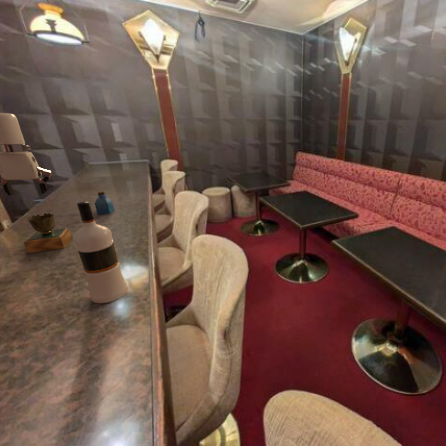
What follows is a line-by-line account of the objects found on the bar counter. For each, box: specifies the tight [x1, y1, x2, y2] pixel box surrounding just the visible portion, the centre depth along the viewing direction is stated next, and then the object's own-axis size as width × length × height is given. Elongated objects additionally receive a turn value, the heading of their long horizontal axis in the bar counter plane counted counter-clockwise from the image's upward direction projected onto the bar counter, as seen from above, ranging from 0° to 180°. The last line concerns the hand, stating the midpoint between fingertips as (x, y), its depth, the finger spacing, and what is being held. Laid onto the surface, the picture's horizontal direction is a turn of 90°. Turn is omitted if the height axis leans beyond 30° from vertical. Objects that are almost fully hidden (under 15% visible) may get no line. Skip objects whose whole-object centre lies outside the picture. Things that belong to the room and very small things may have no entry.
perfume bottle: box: [94, 191, 115, 215], centre depth 143 cm, size 6×6×12 cm
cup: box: [27, 212, 56, 235], centre depth 101 cm, size 8×7×8 cm
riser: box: [23, 227, 73, 254], centre depth 104 cm, size 11×11×5 cm
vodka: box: [72, 201, 129, 304], centre depth 71 cm, size 9×9×30 cm
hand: (28, 193), depth 97 cm, fingers open, 9 cm apart
